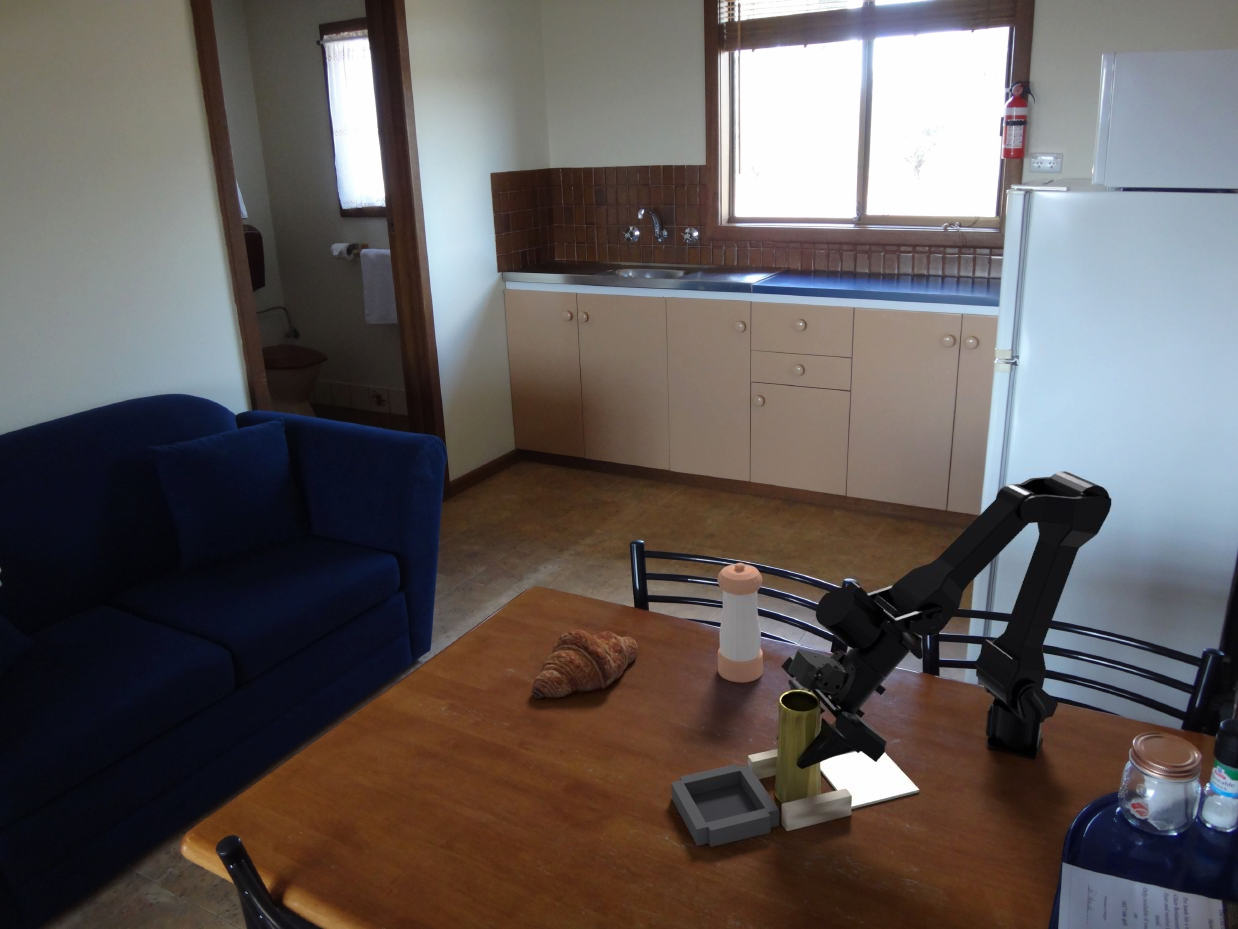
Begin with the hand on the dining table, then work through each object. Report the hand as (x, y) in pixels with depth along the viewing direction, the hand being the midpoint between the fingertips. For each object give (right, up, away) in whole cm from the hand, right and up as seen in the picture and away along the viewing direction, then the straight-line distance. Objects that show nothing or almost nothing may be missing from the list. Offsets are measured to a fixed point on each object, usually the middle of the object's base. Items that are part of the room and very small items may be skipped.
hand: (788, 753), depth 123 cm
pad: (+11, -5, +5) cm, 13 cm away
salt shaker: (-2, +4, +32) cm, 32 cm away
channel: (+2, -6, +3) cm, 7 cm away
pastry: (-27, +3, +34) cm, 43 cm away
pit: (-8, -7, 0) cm, 11 cm away
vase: (+2, -6, +3) cm, 7 cm away
